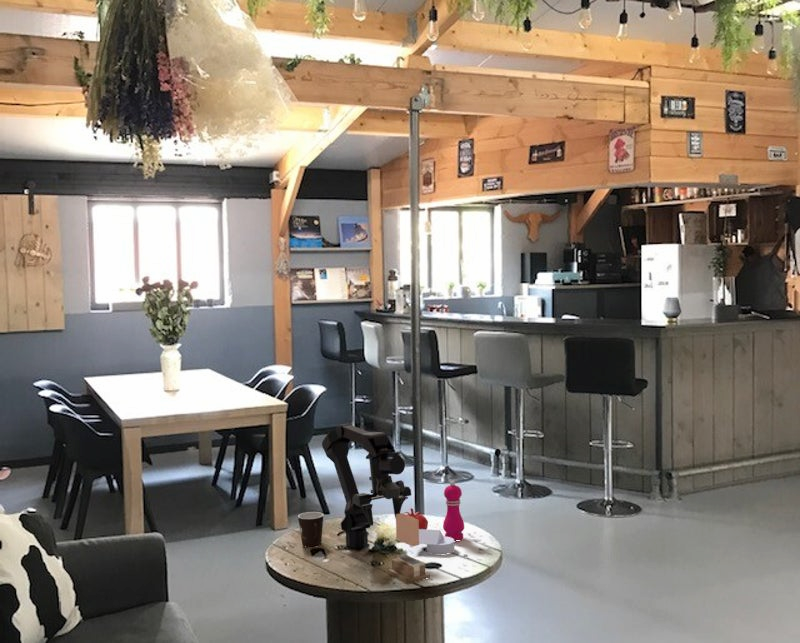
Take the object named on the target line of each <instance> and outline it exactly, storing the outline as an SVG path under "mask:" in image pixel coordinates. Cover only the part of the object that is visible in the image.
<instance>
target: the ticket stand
mask: <svg viewBox="0 0 800 643" xmlns="http://www.w3.org/2000/svg"><path fill="white" fill-rule="evenodd" d="M387 574H388V575H390V576H391V577H394V578H396V579H397V580H399V581H401V582H403V583H404V584H406V585H409V584H413V583H417V582H420V580H421V581H424V580H423V579H425V580H427V579H426V578H429V579H431V574H430V573H428V572H427V571H426V564H425V563H423V562H420V561H419V560H417V559H415V558H413V557H411V556H409V555H407V554H405V553H402V554H399V555H398V554H397V555H396V558H391V568H389V569H388V568H387Z"/></svg>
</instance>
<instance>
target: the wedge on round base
mask: <svg viewBox="0 0 800 643" xmlns="http://www.w3.org/2000/svg"><path fill="white" fill-rule="evenodd" d="M419 545H426V552H427V553H428V552H429V553H428V554H430V553H432V554H431V555H434V554H447V553H451V552H453V551H454V552H455V542H454V539H453V538H451V537H446V536H445V535H443V533H442V531H441V529H427V530H426V529H419ZM454 552H453V553H454ZM451 554H452V553H451ZM447 555H448V554H447Z"/></svg>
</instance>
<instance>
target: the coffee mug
mask: <svg viewBox="0 0 800 643" xmlns="http://www.w3.org/2000/svg"><path fill="white" fill-rule="evenodd" d="M297 520H298V524H299V532H300V538H301V544H302V545H303V546H306V547H305V548H308V547H312V548H317V547H316V546H318V547H320V546H321V545H322V538H323V526H324V513H322V512H319V511H307V512H302V513H300V514H298V515H297ZM303 546H302V547H303Z"/></svg>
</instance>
